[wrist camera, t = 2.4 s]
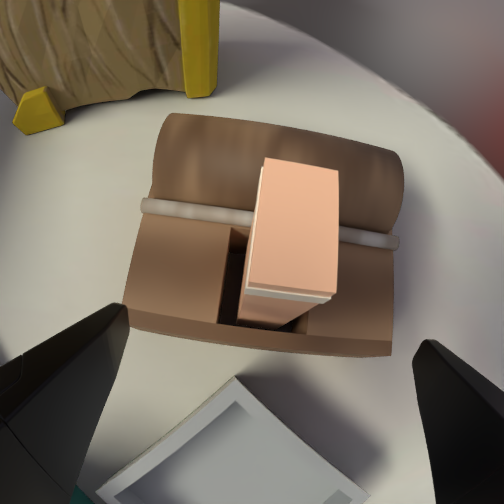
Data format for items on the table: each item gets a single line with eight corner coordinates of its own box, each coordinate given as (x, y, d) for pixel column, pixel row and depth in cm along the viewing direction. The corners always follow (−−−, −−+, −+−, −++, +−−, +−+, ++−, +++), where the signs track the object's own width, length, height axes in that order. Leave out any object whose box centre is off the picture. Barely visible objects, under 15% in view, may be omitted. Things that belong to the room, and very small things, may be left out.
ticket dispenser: (361, 357, 18) (420, 353, 12) (139, 329, 18) (97, 314, 12) (363, 189, 23) (403, 135, 16) (178, 160, 22) (166, 93, 16)
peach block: (275, 330, 19) (337, 294, 8) (234, 325, 19) (247, 283, 8) (282, 266, 20) (339, 169, 10) (243, 261, 20) (263, 155, 10)
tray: (352, 480, 16) (370, 495, 13) (232, 570, 12) (234, 593, 10) (234, 375, 18) (235, 378, 15) (111, 476, 14) (95, 492, 12)
